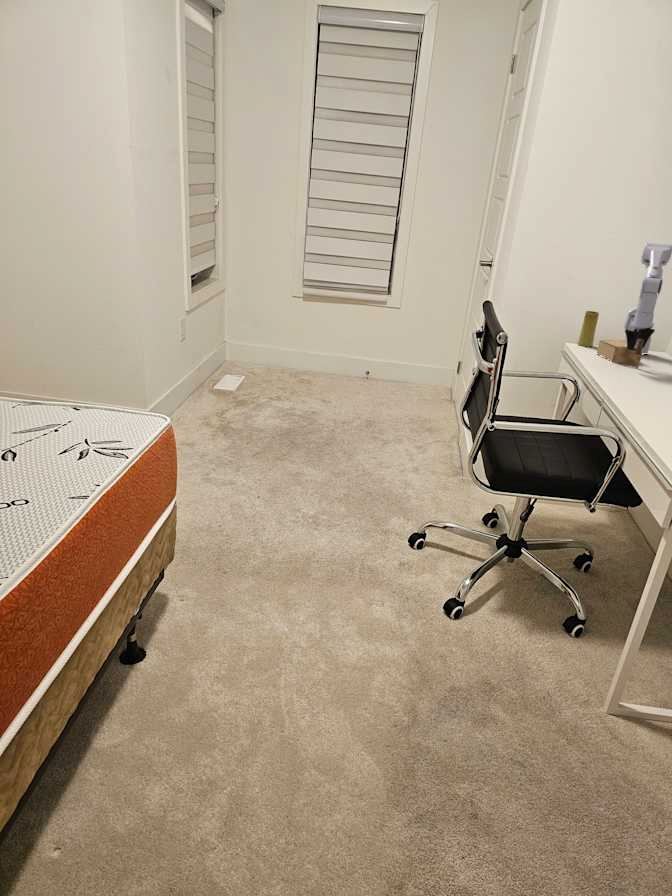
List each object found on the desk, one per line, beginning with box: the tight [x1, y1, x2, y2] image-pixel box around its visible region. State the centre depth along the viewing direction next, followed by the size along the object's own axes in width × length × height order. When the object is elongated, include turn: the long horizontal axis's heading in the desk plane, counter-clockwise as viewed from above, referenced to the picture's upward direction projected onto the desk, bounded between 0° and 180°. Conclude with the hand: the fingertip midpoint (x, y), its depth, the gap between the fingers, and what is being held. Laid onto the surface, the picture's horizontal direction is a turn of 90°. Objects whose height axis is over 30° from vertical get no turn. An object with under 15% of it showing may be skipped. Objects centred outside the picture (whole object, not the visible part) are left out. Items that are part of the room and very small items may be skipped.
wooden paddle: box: [612, 339, 644, 369], centre depth 230 cm, size 10×2×11 cm, turn 39°
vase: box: [577, 310, 600, 347], centre depth 259 cm, size 6×6×14 cm
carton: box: [596, 339, 637, 362], centre depth 241 cm, size 10×11×6 cm
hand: (635, 348), depth 227 cm, fingers open, 7 cm apart
